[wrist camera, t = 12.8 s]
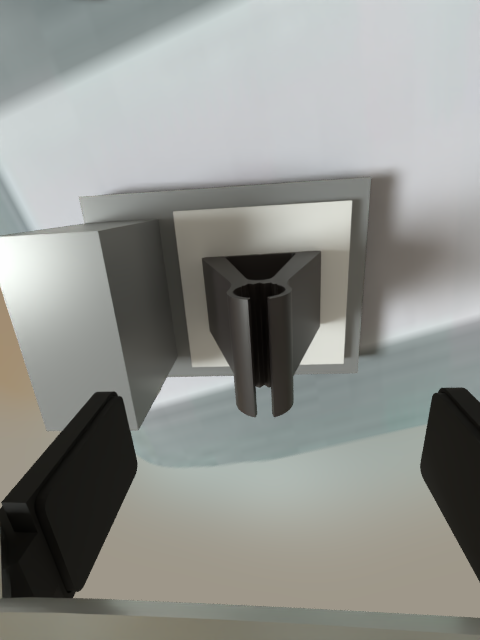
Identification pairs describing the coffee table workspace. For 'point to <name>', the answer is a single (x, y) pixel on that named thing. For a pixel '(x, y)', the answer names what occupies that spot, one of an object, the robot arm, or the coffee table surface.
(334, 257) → the grey bracket with tile
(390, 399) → the coffee table surface
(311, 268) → the phone stand
